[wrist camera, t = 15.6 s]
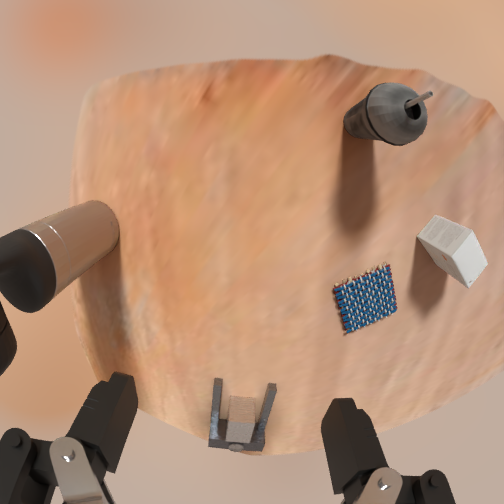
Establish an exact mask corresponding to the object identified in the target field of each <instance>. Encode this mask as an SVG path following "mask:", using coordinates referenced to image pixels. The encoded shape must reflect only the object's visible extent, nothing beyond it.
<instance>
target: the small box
mask: <svg viewBox="0 0 504 504" xmlns="http://www.w3.org/2000/svg"><path fill="white" fill-rule="evenodd" d="M417 238H418V239H419V240H420V242H421V243H422V245H423V246H424V248H425V249H426V250H427V252H428V253H429V255H430V256H431V258H432V259H433V261H434V262H435V264H436V265H437V266H439V267H440V268H441V269H443V270H444V271H445V272H447V273H448V274H449V275H451V276H452V277H454V278H455V279H456V280H458V281H459V282H460V283H462V284H463V285H464V286H466V287H467V288H469V287H470V286H471V285H472V284H473V282H474V281H475V280H476V279H477V277H478V276H479V275H480V273H481V272H482V271H483V270H484V268H485V267H486V266H487V264H488V262H487V260H486V257H485V255H484V253H483V251H482V248H481V246H480V244H479V242H478V240H477V238H476V236H475V234H474V232H473V230H471V229H469V228H467V227H464V226H462V225H460V224H457V223H455V222H453V221H450V220H448V219H446V218H443V217H441V216H438V215H434V217H433V218H432V219H431V220H430V221H429V222H428V224H427V225H426V226H425V227H424V228H423V230H422V231H421V232H420V233H419V234H418V235H417Z"/></svg>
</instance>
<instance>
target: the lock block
mask: <svg viewBox="0 0 504 504" xmlns="http://www.w3.org/2000/svg"><path fill="white" fill-rule="evenodd" d="M254 426H255V398H250V397H239V396H230V402H229V409H228V416H227V427H226V441H229V442H240V443H250V440H251V436H252V433H253V429H254Z"/></svg>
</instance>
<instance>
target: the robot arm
mask: <svg viewBox="0 0 504 504" xmlns="http://www.w3.org/2000/svg"><path fill="white" fill-rule="evenodd" d="M118 238H119V225H118V222H117V219H116V216H115V214H114V213H113V211H112V210H111V209H110V208H109V207H108V206H107V205H106V204H104V203H102V202H99V201H88V202H85V203H82V204H79V205H77V206H74V207H71V208H68V209H66V210H63V211H61V212H58V213H55V214H53V215H50V216H48V217H45V218H43V219H41V220H38V221H36V222H34V223H31V224H29V225H27V226H25V227H22V228H20V229H18V230H15V231H13V232H11V233H9V234H7V235H5V236H3V237H1V238H0V292H1V293H2V294H3V296H4V297H5V298H6V299H7V300H8V301H9V302H10V303H11V304H12V305H13V306H14V307H16V308H17V309H19V310H21V311H23V312H27V313H33V312H36V311H39V310H40V309H42V308H43V307H44V306H45V305H46V304H48V303H49V302H50V301H51V300H52V299H53V298H54V297H55V296H57V295H58V294H59V293H60V292H61V291H62V290H63V289H65V288H66V287H67V286H68V285H69V284H71V283H72V282H73V281H74V280H75V279H77V278H78V277H79V276H80V275H81V274H83V273H84V272H85V271H86V270H88V269H89V268H90V267H91V266H93V265H94V264H95V263H96V262H98V261H99V260H100V259H102V258H103V257H104V256H105V255H107V254H108V253H109V252H111V251H112V250H113V248H114V247H115V246H116V244H117V241H118ZM16 350H17V342H16V339H15V336H14V333H13V331H12V328H11V326H10V323H9V321H8V319H7V317H6V314H5V312H4V309H3V307H2V304H1V302H0V376H1V375H2V374H3V373H4V371H5V370H6V369H7V368H8V366H9V365H10V364H11V362H12V360H13V359H14V356H15V354H16ZM137 408H138V398H137V393H136V387H135V382H134V378H133V376H131V375H127V374H123V373H119V372H114V373H113V374H112V376H111V378H110V380H109V382H105V381H100V382H99V383H98V384H96V385H95V386H94V387H93V388H92V389H91V391H90V393H89V395H88V397H87V399H86V400H85V402H84V404H83V406H82V407H81V409H80V411H79V413H78V415H77V417H76V418H75V420H74V423H73V424H72V426H71V428H70V430H69V432H68V433H67V435H66V436H65V437H61V438H58V439H56V440H55V441H44V440H38V439H33V438H30V437H29V435H28V434H27V433H26V432H25V431H24V430H22V429H19V428H11V429H9V430H7V431H6V432H5V433H4V435H3V436H2V438H1V440H0V504H50V503H51V499H52V496H53V493H54V490H55V487H56V486H59V487H60V491H61V493H62V496H63V500H64V502H63V504H116V503H115V501H114V499H113V497H112V495H111V493H110V491H109V489H108V487H107V484H106V482H105V480H104V476H105V474H106V471H109V472H112V473H115V471H116V468H117V465H118V462H119V460H120V457H121V453H122V451H123V448H124V445H125V442H126V439H127V437H128V434H129V431H130V428H131V426H132V423H133V420H134V417H135V415H136V412H137ZM321 433H322V438H323V443H324V447H325V452H326V456H327V461H328V466H329V471H330V476H331V481H332V486H333V490H334V494H341V493H343V494H344V499H343V501H342V502H341V504H456V503H455V500H454V497H453V495H452V492H451V489H450V486H449V483H448V481H447V478H446V476H445V475H444V474H443V473H442V472H441V471H439V470H429V471H427V472H425V473H424V474H423V475H422V476H403V475H400V474H399V473H398V472H397V471H396V470H394V469H392V468H389V466H388V464H387V462H386V459H385V456H384V454H383V451H382V448H381V445H380V443H379V440H378V437H376V436H377V434H376V432H375V429H374V426H373V424H372V421H371V419H370V417H369V416H368V415H367V414H366V412H365V411H364V410H363V409H357V407H356V405H355V402H354V400H353V399H352V398H335V399H333V400H332V402H331V404H330V406H329V408H328V410H327V412H326V414H325V416H324V418H323V420H322V424H321Z"/></svg>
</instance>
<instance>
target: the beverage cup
mask: <svg viewBox="0 0 504 504" xmlns="http://www.w3.org/2000/svg"><path fill="white" fill-rule="evenodd" d="M431 96H433V93H432V92H431V91H428V92H426V93H424V94H423V95H421V96H419V95H418V94H417V93H416V92H415V91H414V90H413V89H411V88H410V87H408V86H405V85H403V84H399V83H383V84H379V85H376V86H375V87H374V88H373V89H371V90H370V92H369V94H368V95H367V96H366V98H364V99H363V100H362V101H360V102H359V103H358V104H356V105H355V106H353V107H352V108H351V109H350V110H349V111H348V112H347V113H346V114H345V116H344V126H345V129H346V130H347V132H348V133H349V134H350V135H352V136H353V137H357V138H361V139H371V140H380V141H384V142H386V143H389V144H391V145H394V146H403V145H405V144H408V143H410V142H412V141H415V140H416V139H417V138H418V137H419V136H420V135H421V134H422V133H423V132H424V129H425V127H426V125H427V118H428V117H427V110H426V107H425V104H424V102H423V100H425V99H427V98H429V97H431Z"/></svg>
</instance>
